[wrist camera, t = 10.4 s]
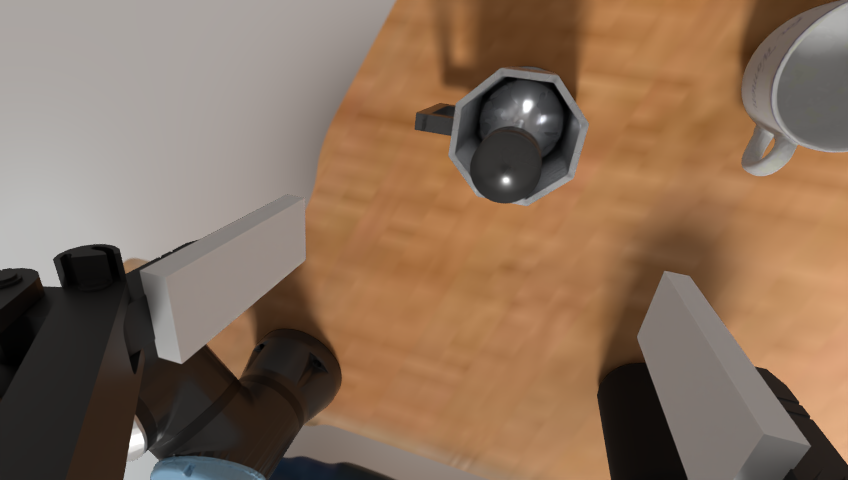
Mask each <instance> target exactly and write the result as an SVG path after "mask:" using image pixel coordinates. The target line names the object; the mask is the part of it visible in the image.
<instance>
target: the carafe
mask: <svg viewBox="0 0 848 480" xmlns="http://www.w3.org/2000/svg"><path fill="white" fill-rule="evenodd" d="M520 80H528V81H534V82H537V83H540V84H542V85H544V86H546V87H547V88H548V89H550V90H551V91H552V92H553V93H554V95H555V96H556V97H557V99H558V101H559V103H560V106H561V108H562V113H563V127H562V131H561V134H560V137H559V139H558V141H557V143H556V144H555V146H554V147H553V148H552V150H551V151H550V152H548V153H547V154H546V155H545V156H543V157H542V158H541V162H542V167H541V176H540V179H539V182H538V184H537V186H536V187H535V189H534V190H533V191H532V192H531V193H530V194H529V195H528V196H526V197H525V198H523V199H521V200H519V201H517V202H513V203H514V204H519V205H524V206H528V205H530V204H531V203H533V202H535V201H536V200H538V199H540V198H541V197H543V196H545V195H546V194H548V193H550V192H551V191H553V190H555V189H556V188H558V187H560V186H561V185H563V184H565V183H566V182H568V181H570V180H572V179H573V178H574V175H575V171H576V168H577V164H578V161H579V157H580V154H581V150H582V147H583V143H584V140H585V136H586V133H587V129H588V126H589V123H588V121H587V120H586V118H585V117H584V115H583V114H582V112H581V110H580V109H579V107H578V106H577V104H576V103H575V101H574V99H573V98H572V96H571V95H570V93H569V91H568V89H567V88H566V87H565V85H564V84H563V82H562V80H561V79H560V77H559V76H558V75H557V74H556V73H554V72H552V71H546V70H543V69H541V68H536V67H527V66H525V67H514V66H511V67H504V68H500V69H499V70H498V71H496V72H495V73H494V74H493V75H491V76H490V77H489V78H487V79H486V80H485V81H484V82H482V83H481V84H480V85H479V86H477V87H476V88H475V89H474V90H472V91H471V92H470V93H469V94H467V95H466V96H465V97H464V98H462V99H461V100H460V101H459V102H457V103H456V105H449V104H443V103H439V104H437V105H434V106H432V107H429V108H427V109H424V110H422V111H419V112H417V113H416V121H415V130H420V131H426V132H432V133H438V134H444V135H450V136H451V142H450V149H449V157H450V159H451V160H452V162H453V163H454V164H455V166H456V167H457V169H458V170H459V171H460V173H461V174H462V176H463V177H464V178H465V180H466V181H467V183H468V184H469V185H470V187H471V188H472V190H473V191H474V192H475V194H476V195H477V196H478V197H483V198H485V197H484V196H483V195H482V194H480V193H479V191H478V190H477V189H476V188H475V186H474V184H473V182H472V179H471V175H470V163H471V159H472V156H473V154H474V152H475V151H476V149H477V148H478V146H479V145H480V144H481V142H482V141H483V139H482V136H481V132H480V117H481V113H482V110H483V108H484V106H485V104H486V102H487V100H488V99H489V98H490V96H491V95H492V94H493V93H494V92H495V91H497V90H498V89H499V88H501V87H502V86H504V85H506V84H508V83H511V82H514V81H520Z"/></svg>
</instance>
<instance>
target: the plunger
mask: <svg viewBox="0 0 848 480" xmlns="http://www.w3.org/2000/svg"><path fill="white" fill-rule="evenodd" d="M562 127H563V113H562V108H561V106H560V103H559V101H558V99H557V97H556V96H555V95H554V93H553V92H552V91H551V90H550V89H548V88H547V87H546V86H544V85H542V84H540V83H537V82H534V81H528V80H520V81H514V82H511V83H508V84H506V85H504V86H502V87H501V88H499V89H498V90H497V91H495V92H494V93H493V94H492V95H491V96H490V98H489V99H488V100H487V102H486V104H485V106H484V108H483V110H482V113H481V117H480V132H481V136H482V139H483V141H482V142H481V144H480V145H479V146H478V148H477V149H476V151H475V152H474V154H473V156H472V159H471V163H470V175H471V179H472V182H473V184H474V186H475V188H476V189H477V190H478V191H479V193H480V194H482V195H483V196H484V197H485V198H487V199H489V200H491V201H494V202H497V203H513V202H517V201H519V200H521V199H523V198H525V197H526V196H528V195H529V194H530V193H531V192H532V191H533V190H534V189H535V187H536V186H537V184H538V182H539V179H540V176H541V167H542V162H541V158H542V157H543V156H545V155H546V154H547V153H548V152H550V151H551V150H552V148H553V147H554V146H555V144H556V143H557V141H558V139H559V137H560V134H561V131H562Z"/></svg>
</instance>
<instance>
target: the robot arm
mask: <svg viewBox="0 0 848 480" xmlns="http://www.w3.org/2000/svg"><path fill="white" fill-rule="evenodd" d="M305 260H306V243H305V198H303V197H298V196H293V195H288V194H287V195H285V196H283V197H281V198H279V199H277V200H275V201H273V202H271V203H269V204H267V205H266V206H263V207H262V208H260V209H258V210H256V211H254V212H252V213H250V214H248V215H246V216H244V217H242V218H240V219H238V220H237V221H235V222H233V223H231V224H229V225H227V226H225V227H223V228H221V229H219V230H217V231H215V232H213V233H211V234H209V235H208V236H206V237H204V238H202V239H200V240H196V241H192V242H189V243H186V244H184V245H182V246H180V247H178V248H176V249H174V250H173V252H168V253H166V254H164V255H162V256H161V258H160V257H159V258H156V259H154V260H152V261H150V262H148V263H146V264H144V265H142V266H141V267H139V268H137V269H135V270H133V271H131V272H129V273H127V274H125V270H124V266H123V262H122V257H121V253H120V249H119V248H117V247H115V246H112V245H106V244H96V245H95V244H94V245H86V246H80V247H76V248H73V249H69V250H67V251H64V252H62V253H60V254H58V255H57V256H56V257H55V258H54V259H53V261H54V264H55V267H56V270H57V273H58V276H59V280H60V283H61V286H62V287H43V286H42V283H41V280H40V277H39V274H38V272H37V271H35V270H32V269H25V268H17V269H11V268H9V269H3V270H2V271H1V270H0V480H123V478H124V472H125V467H126V462H128V461H134V460H136V459H138V458H140V457H141V456H142V455H143V454H144V453H145V452H146V451H147V450H149V451H150V452H151V453H152V454H153V455H154V456H155V457H156V458H157V459H159V462H157V463H156V464H155V466H154V468H153V471H152V473H151V476H150V480H268V479H269V477H270V476H271V474H272V473H273V471H274V470H275V468H276V467H277V465H278V463H279V462H280V460H281V459H282V457H283V456H284V454H285V452H286V451H287V449H288V448H289V446H290V445H291V443H292V442H293V440H294V438H295V437H296V435H297V434H298V432H299V431H300V429H301V428H302V426H303V425H304V424H305V423H306V422H308V421H309V420H310V419H312V418H313V417H314V416H315V415H317V414H318V413H319V412H320V411H322V410H323V409H324V408H326V407H327V406H328V405H329V404H330V403H331V402H332V400H333V399H334V397H335V396H336V394H337V392H338V391H339V388H340V385H341V372H340V369H339V366H338V363H337V361H336V360H335V358H334V356H333V355H332V354H331V352H330V351H329V350H328V349H327V348H326V347H325V346H324V345H323V344H322V343H321V342H319V341H318V340H316V339H315V338H313V337H312V336H310V335H308V334H306V333H303V332H300V331H297V330H292V329H279V330H275V331H272V332H270V333H269V334H267V335H266V336H265V337H264V338H263V339H262V340H261V341H260V342H259V343H258V344H257V345H256V347H255V348H254V350H253V352H252V354H251V356H250V358H249V360H248V363H247V365H246V367H245V369H244V371H243V373H242V376H241V378H240V379H239V380H238V379H237V378H236V377H235V376H234V375H233V373H232V372H231V371H230V370H229V369H228V368H227V367H226V366H225V364H224V363H223V362H222V361H221V360H220V359H219V358H218V357H217V356H216V354H215V353H214V352H213V351H212V350H211V349H210V348H209V347H208V345H207V344H206V343H208V342H209V341H210V340H211V339H212V338H213V337H215V336H216V335H217V334H218V333H219V332H221V331H222V330H223V329H224V328H225V327H227V326H228V325H229V324H230V323H231V322H232V321H234V320H235V319H236V318H237V317H238V316H240V315H241V314H242V313H243V312H244V311H246V310H247V309H248V308H249V307H250V306H252V305H253V304H254V303H255V302H256V301H257V300H259V299H260V298H261V297H262V296H263V295H265V294H266V293H267V292H268V291H269V290H271V289H272V288H273V287H274V286H275V285H276V284H278V283H279V282H280V281H281V280H282V279H284V278H285V277H286V276H287V275H288V274H290V273H291V272H292V271H293V270H294V269H295V268H297V267H298V266H299V265H300V264H301V263H303V262H304V261H305ZM637 339H638V342H639V345H640V348H641V350H642V353H643V356H644V359H645V361H646V364H647V367H648V370H649V372H650V375H651V378H652V381H653V384H654V386H655V389H656V392H657V395H658V397H659V400H660V403H661V406H662V408H663V411H664V414H665V417H666V420H667V422H668V425H669V428H670V431H671V433H672V436H673V439H674V442H675V445H676V447H677V450H678V453H679V456H680V458H681V461H682V464H683V467H684V469H685V472H686V475H687V478H688V480H848V465H847V463H846V462H845V461H844V460H843V458H842V457H841V456H840V454H839V453H838V452H837V450H836V449H835V448H834V447H833V445H832V444H831V443H830V441H829V440H828V439H827V438H826V436H825V435H824V434H823V432H822V431H821V430H820V428H819V427H818V426H817V425H816V423H815V422H814V421H813V420H811V419H810V415H809V414H808V413H807V412H806V410H805V409H804V408H803V406H801V405H799V401H798V400H797V399H796V397H795V396H794V395H793V393H792V392H791V391H790V390H789V388H788V387H787V386H786V385H785V384H784V383H783V382H781V381H780V380H779V379H778V378H777V377H775V376H774V375H773V374H772V373H770V372H769V371H768V370H767V369H763V368H759V367H755V366H754V365H753V364H752V363H751V361H750V360H749V358H748V357H747V356H746V354H745V353H744V351H743V350H742V349H741V347H740V346H739V344H738V343H737V342H736V340H735V339H734V337H733V336H732V335H731V333H730V332H729V330H728V329H727V328H726V326H725V325H724V323H723V322H722V321H721V319H720V318H719V316H718V315H717V314H716V312H715V311H714V309H713V308H712V307H711V305H710V304H709V302H708V301H707V300H706V298H705V297H704V295H703V294H702V293H701V291H700V290H699V288H698V287H697V286H696V284H695V283H694V281H693V280H692V279H691V277H690V276H688V275H683V274H678V273H673V272H668V271H664V273H663V275H662V278H661V280H660V283H659V285H658V287H657V290H656V292H655V295H654V297H653V299H652V302H651V304H650V307H649V309H648V311H647V314H646V316H645V319H644V321H643V323H642V326H641V328H640V331H639V333H638V335H637Z"/></svg>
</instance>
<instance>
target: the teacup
mask: <svg viewBox="0 0 848 480" xmlns="http://www.w3.org/2000/svg"><path fill="white" fill-rule="evenodd" d="M741 91H742V101H743V104H744V107H745V110H746V112H747V113H748V115H749V116H750V118H751V119H752V120H753V121H754V122H755V123H756V124H757V125H756V127H755V129H754V134H753V136H752V138H751V140H750V141H749V143H748V145H747V147H746V149H745V151H744V154H743V157H742V162H741V163H742V167H743V168H744V169H745V170H746V171H747V172H749V173H751V174H753V175H755V176H767V175H770V174H772V173H774V172H776V171H778V170H779V169H781V168H782V167H783V166H784V165H785V164H786V163H787V162H788V161H789V160H790V158H791V157H792V155H793V153H794V151H795V149H796V147H797V145H798V144H799V145H801V146H804V147H806V148H809V149H814V150H818V151H823V152H848V0H840V1H835V2H831V3H828V4H824V5H821V6H818V7H815V8H812V9H810V10H807V11H805V12H803V13H801V14H799V15H797V16H795V17H793V18H791V19H790V20H788V21H787V22H785V23H784V24H782V25H781V26H779V27H778V28H777V29H776V30H774V31H773V32H772V33H771V34H770V35H769V36H768V37H767V38H766V39H765V40H764V41H763V42H762V43H761V44H760V45H759V47H758V48H757V49H756V51H755V52H754V54H753V55H752V57H751V59H750V61H749V62H748V64H747V67H746V69H745V72H744V76H743V80H742V88H741ZM773 137H774V139H775V145H774V147H773V149H772V150H771V151H770V153H769V154H768V155H767V156H765V157H764V158H763V159H761V158H762V156H763V153H764V151H765V150H766V148H767V146H768V145H769V143H770V141H771V140H772V138H773Z"/></svg>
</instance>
